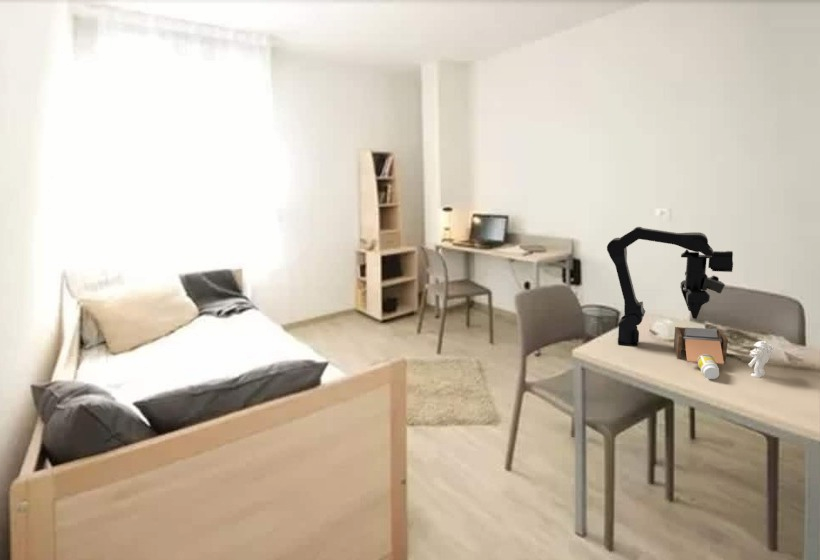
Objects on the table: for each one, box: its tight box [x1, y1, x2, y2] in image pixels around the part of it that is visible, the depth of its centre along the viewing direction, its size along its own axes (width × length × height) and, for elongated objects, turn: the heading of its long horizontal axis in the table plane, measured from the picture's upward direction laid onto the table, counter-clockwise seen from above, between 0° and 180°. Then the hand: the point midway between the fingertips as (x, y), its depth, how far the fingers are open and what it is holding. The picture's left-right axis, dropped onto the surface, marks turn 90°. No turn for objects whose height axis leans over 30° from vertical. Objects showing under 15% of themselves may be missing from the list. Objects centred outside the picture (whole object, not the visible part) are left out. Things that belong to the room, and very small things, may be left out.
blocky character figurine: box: [748, 340, 774, 379], centre depth 147 cm, size 9×4×12 cm, turn 117°
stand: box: [673, 326, 729, 364], centre depth 165 cm, size 14×10×8 cm
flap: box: [683, 326, 725, 366], centre depth 160 cm, size 11×14×4 cm
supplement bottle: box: [697, 354, 720, 380], centre depth 150 cm, size 5×5×8 cm
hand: (692, 314), depth 168 cm, fingers open, 9 cm apart
